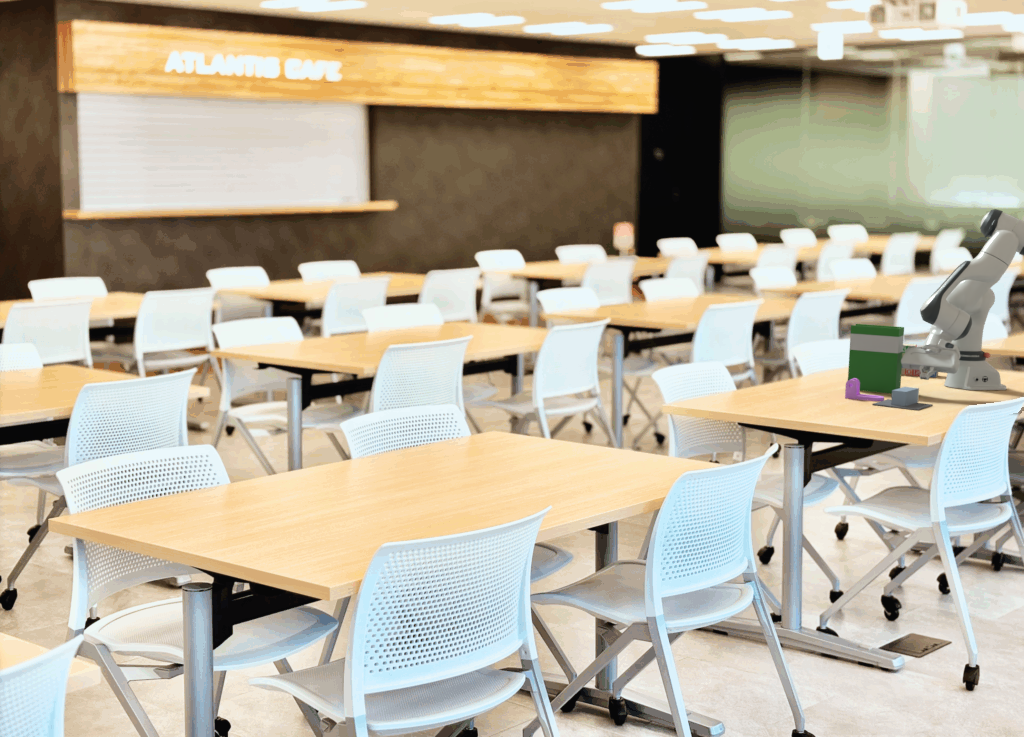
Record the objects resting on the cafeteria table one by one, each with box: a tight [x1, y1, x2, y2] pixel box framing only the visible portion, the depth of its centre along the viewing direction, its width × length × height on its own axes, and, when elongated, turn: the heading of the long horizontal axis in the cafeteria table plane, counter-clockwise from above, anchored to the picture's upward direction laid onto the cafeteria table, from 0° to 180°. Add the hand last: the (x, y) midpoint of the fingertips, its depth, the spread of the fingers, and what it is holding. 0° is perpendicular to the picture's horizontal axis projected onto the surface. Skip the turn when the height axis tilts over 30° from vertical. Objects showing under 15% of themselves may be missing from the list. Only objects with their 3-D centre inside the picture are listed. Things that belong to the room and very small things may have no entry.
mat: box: [871, 398, 934, 411], centre depth 458 cm, size 14×16×1 cm
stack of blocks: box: [901, 343, 939, 378], centre depth 536 cm, size 21×6×12 cm, turn 64°
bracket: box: [844, 378, 885, 402], centre depth 470 cm, size 13×6×7 cm, turn 62°
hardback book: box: [847, 323, 905, 395], centre depth 489 cm, size 18×7×24 cm, turn 61°
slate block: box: [890, 386, 920, 406], centre depth 459 cm, size 5×5×12 cm
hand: (923, 378), depth 473 cm, fingers closed
